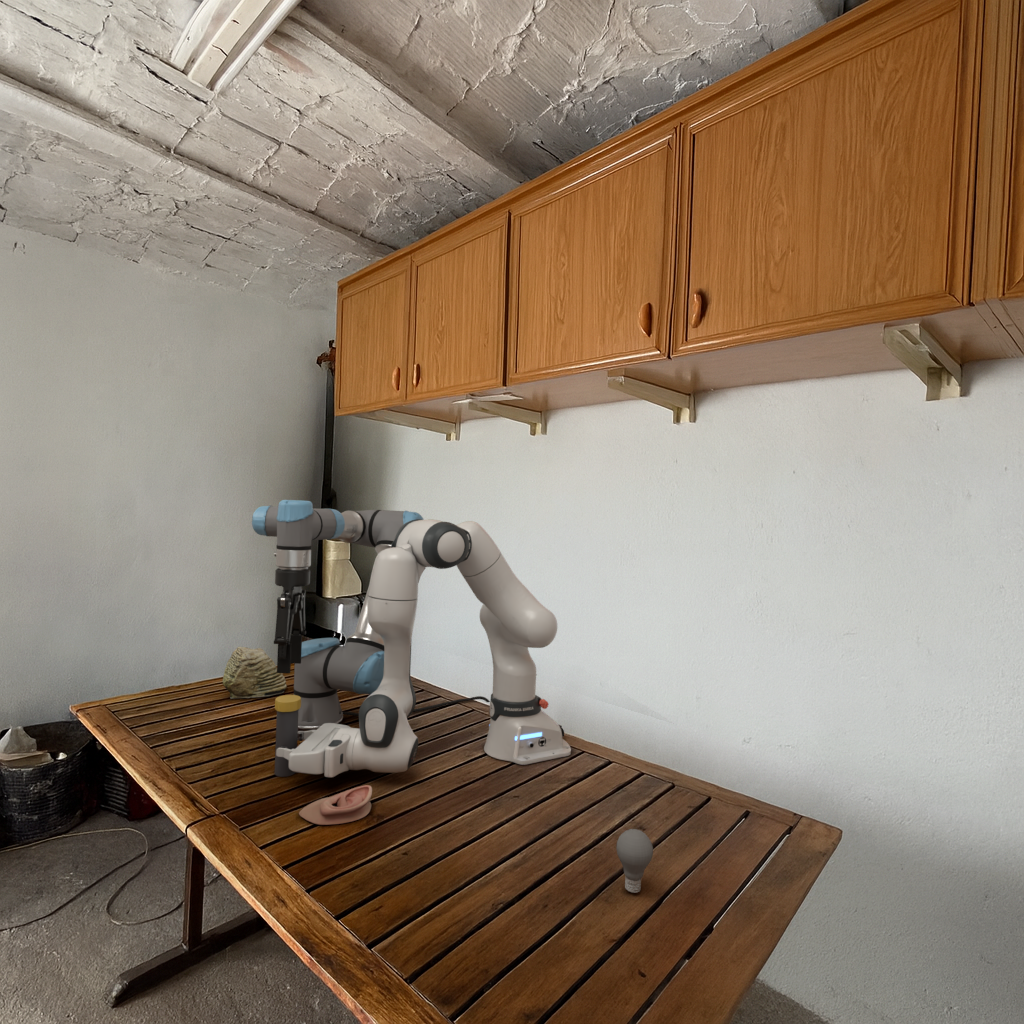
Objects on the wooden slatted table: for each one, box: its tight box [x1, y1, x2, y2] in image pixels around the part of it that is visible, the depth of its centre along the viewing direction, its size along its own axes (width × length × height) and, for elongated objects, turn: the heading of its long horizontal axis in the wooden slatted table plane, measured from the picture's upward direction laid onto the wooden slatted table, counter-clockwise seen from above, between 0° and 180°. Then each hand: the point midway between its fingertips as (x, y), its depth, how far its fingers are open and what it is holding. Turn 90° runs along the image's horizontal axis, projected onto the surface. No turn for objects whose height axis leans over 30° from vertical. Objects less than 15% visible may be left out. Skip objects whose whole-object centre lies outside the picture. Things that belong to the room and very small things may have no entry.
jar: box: [274, 709, 299, 778], centre depth 144 cm, size 5×5×16 cm
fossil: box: [222, 646, 288, 699], centre depth 198 cm, size 9×18×15 cm, turn 132°
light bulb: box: [615, 828, 654, 894], centre depth 106 cm, size 6×6×10 cm
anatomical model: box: [298, 784, 373, 826], centre depth 127 cm, size 13×4×12 cm
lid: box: [274, 694, 301, 712], centre depth 144 cm, size 6×6×2 cm
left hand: (289, 667), depth 144 cm, fingers open, 8 cm apart
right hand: (287, 743), depth 144 cm, fingers open, 8 cm apart
